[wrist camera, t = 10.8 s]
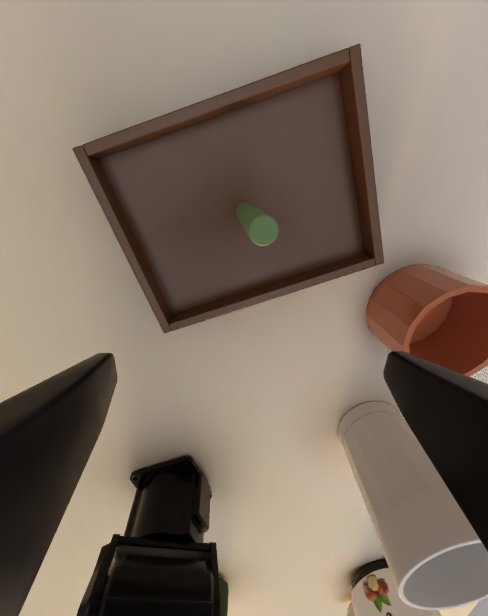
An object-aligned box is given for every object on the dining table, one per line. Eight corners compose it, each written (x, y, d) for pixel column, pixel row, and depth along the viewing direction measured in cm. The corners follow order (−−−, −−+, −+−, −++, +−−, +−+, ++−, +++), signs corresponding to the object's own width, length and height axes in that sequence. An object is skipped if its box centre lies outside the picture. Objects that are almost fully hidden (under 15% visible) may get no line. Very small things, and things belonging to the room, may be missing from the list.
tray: (168, 321, 22) (164, 334, 20) (88, 152, 17) (71, 148, 15) (369, 256, 21) (384, 263, 19) (344, 59, 16) (360, 42, 14)
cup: (354, 385, 26) (452, 530, 15) (423, 405, 28) (555, 549, 17) (316, 445, 29) (374, 605, 18) (380, 460, 30) (470, 614, 20)
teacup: (371, 355, 25) (407, 395, 20) (360, 281, 22) (399, 307, 17) (453, 330, 24) (509, 365, 20) (453, 251, 22) (518, 270, 17)
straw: (238, 221, 19) (253, 250, 10) (233, 205, 19) (244, 220, 10) (254, 216, 19) (282, 240, 10) (249, 199, 19) (274, 210, 10)
